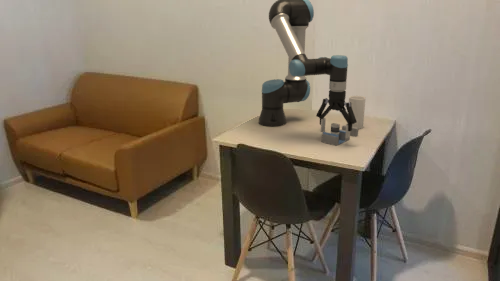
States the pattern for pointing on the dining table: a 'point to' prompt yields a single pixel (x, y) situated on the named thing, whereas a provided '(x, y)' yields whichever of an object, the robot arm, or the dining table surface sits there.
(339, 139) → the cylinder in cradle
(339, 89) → the robot arm
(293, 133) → the dining table surface
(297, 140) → the dining table surface
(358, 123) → the cup
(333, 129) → the plug
